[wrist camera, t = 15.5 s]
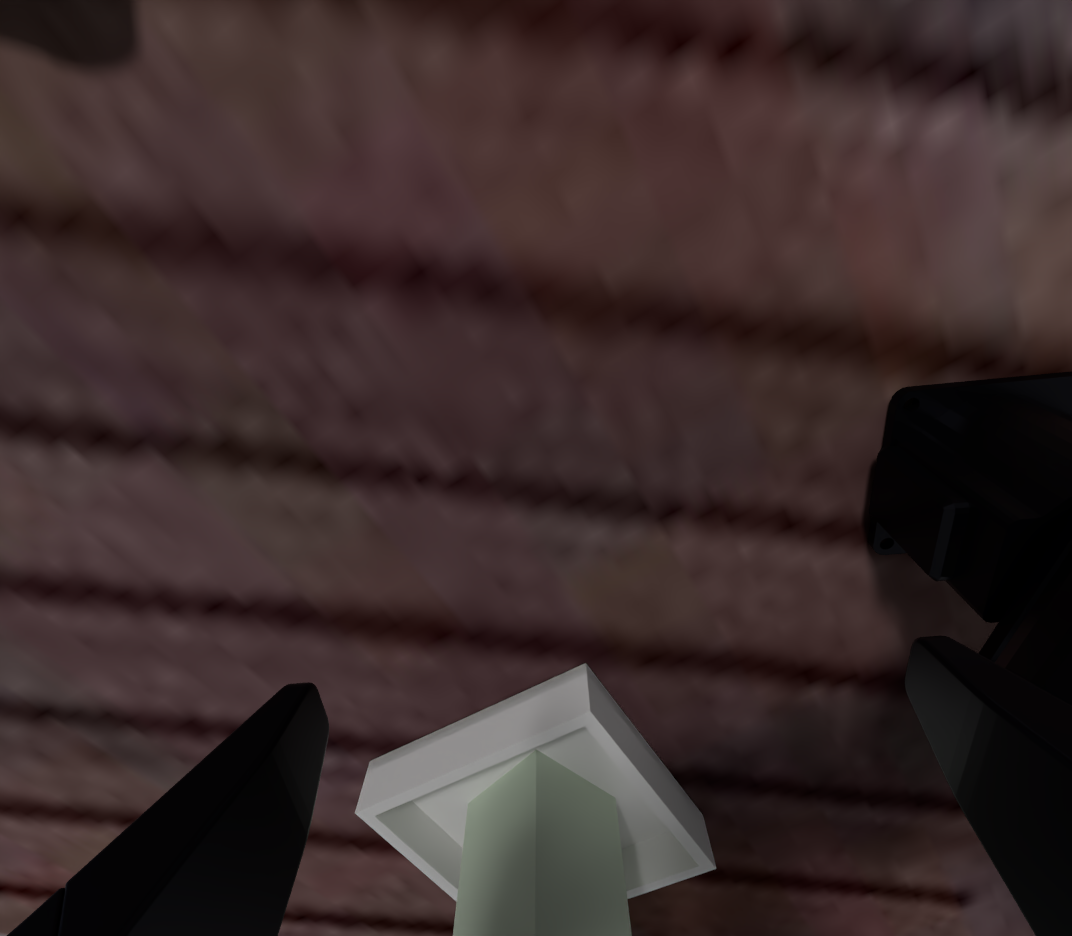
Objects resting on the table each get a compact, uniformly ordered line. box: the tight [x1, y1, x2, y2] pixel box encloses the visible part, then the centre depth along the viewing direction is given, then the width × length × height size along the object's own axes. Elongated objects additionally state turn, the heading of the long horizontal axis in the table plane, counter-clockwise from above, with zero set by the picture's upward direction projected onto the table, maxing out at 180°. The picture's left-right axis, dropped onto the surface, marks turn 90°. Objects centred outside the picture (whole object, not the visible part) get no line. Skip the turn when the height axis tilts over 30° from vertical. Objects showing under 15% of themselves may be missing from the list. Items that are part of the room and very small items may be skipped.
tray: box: [355, 663, 716, 902], centre depth 29 cm, size 12×12×3 cm
